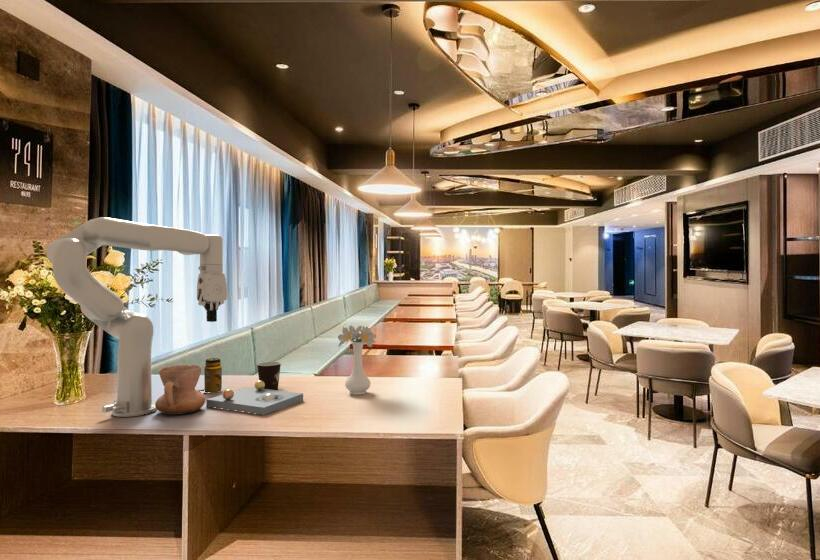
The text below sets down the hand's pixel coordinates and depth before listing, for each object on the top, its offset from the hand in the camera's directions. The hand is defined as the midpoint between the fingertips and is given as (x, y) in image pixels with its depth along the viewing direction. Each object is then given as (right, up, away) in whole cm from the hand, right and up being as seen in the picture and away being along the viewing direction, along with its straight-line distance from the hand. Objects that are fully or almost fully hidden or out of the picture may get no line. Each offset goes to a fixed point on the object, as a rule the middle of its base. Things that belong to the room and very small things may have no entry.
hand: (211, 321), depth 178 cm
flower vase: (+51, -27, +8) cm, 58 cm away
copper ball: (+11, -23, -13) cm, 28 cm away
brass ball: (+17, -23, +1) cm, 28 cm away
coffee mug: (+18, -27, +13) cm, 35 cm away
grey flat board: (+18, -27, -8) cm, 34 cm away
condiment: (-4, -27, +10) cm, 29 cm away
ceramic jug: (-3, -28, -18) cm, 33 cm away
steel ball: (+23, -25, -10) cm, 36 cm away
